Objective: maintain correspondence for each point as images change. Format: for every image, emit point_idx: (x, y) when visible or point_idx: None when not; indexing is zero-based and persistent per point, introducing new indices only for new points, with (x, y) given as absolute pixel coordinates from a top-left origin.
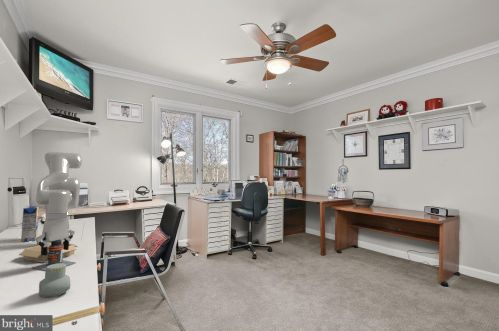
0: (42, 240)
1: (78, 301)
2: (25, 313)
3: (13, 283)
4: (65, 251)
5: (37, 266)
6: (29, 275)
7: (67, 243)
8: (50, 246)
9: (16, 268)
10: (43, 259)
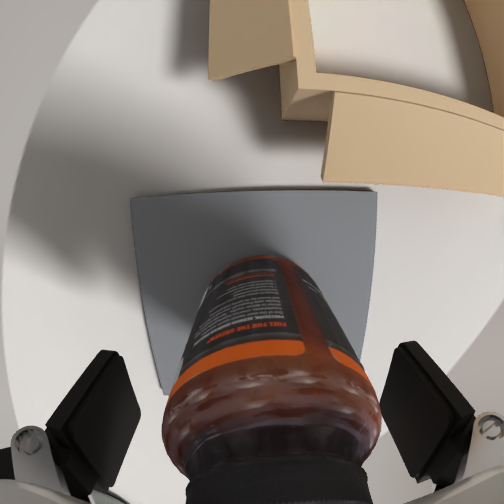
0: (3, 489)
1: None
2: None
3: (23, 364)
4: (471, 185)
5: (165, 217)
6: (76, 340)
7: (408, 467)
8: (177, 457)
9: (94, 90)
10: (285, 100)
